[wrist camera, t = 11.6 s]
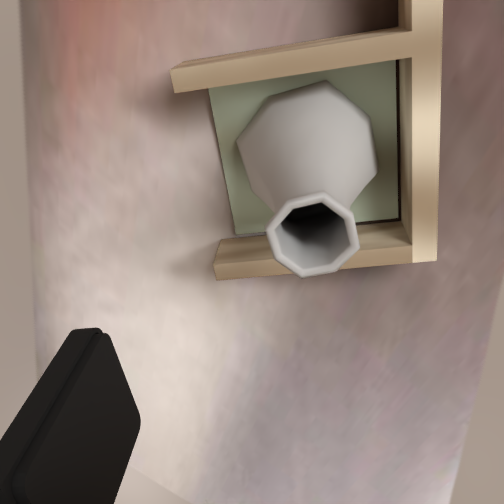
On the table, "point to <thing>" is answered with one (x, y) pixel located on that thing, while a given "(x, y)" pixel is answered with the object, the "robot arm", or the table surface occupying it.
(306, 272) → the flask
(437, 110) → the comb rack
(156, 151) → the table surface
